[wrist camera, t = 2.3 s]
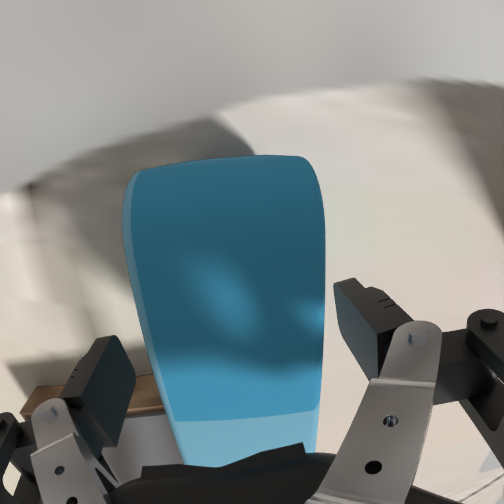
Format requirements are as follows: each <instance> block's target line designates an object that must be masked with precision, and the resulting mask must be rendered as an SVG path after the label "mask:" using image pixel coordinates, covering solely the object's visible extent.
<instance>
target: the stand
mask: <svg viewBox="0 0 504 504" xmlns="http://www.w3.org/2000/svg"><path fill="white" fill-rule="evenodd" d="M64 386H65V385H59V386H46V387H36V388H35V390H34V391H33V393H32V394H31V396H30V397H29V399H28V400H27V402H26V403H25V405H24V406H23V408H22V409H21V411H20V414H21V415H22V417H23V418H24V419H25V421H29V420H31V417H32V414H33V412H34V410H35V409H36V408H37V407H38V406H39V405H40V404H42V403H43V402H45V401H47V400H49V399H53V398H58V397H59V395H60V394H61V392H62V390H63V388H64ZM102 453H103V454H104V455H105V457H106V458H107V460H108V462H109V463H110V465H111V467H112V468H113V470H114V472H115V473H116V475H117V476H118V478H119V480H120V481H121V483H122V484H124V483H127V482H129V481H131V480H134V479H137V478H140V477H141V471H142V466H154V465H169V464H184V462H183V460H182V457H181V455H180V452H179V449H178V447H177V444H176V441H175V438H174V436H173V433H172V430H171V427H170V424H169V421H168V418H167V415H166V412H165V409H164V406H163V403H162V400H161V397H160V394H159V391H158V387H157V384H156V381H155V377H154V374H152V375H146V376H139V377H136V384H135V388H134V391H133V394H132V397H131V400H130V404H129V407H128V410H127V413H126V417H125V420H124V423H123V427H122V430H121V434H120V437H119V441H118V444H117V447H104V448H103V449H102Z"/></svg>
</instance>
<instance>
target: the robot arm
mask: <svg viewBox="0 0 504 504" xmlns="http://www.w3.org/2000/svg"><path fill="white" fill-rule="evenodd" d="M333 289H334V296H335V304H336V311H337V319H338V325H339V329H340V332H341V335H342V337H343V339H344V340H345V342H346V344H347V345H348V347H349V349H350V350H351V352H352V354H353V355H354V357H355V358H356V360H357V362H358V363H359V365H360V367H361V368H362V370H363V372H364V373H365V375H366V377H367V378H368V380H369V385H368V387H367V390H366V392H365V394H364V397H363V399H362V401H361V404H360V406H359V408H358V411H357V413H356V415H355V417H354V420H353V422H352V424H351V426H350V428H349V430H348V432H347V435H346V437H345V439H344V441H343V443H342V445H341V447H340V449H339V451H338V453H337V455H336V454H330V453H316V452H313V453H306V452H305V448H304V444H303V442H300V443H296V444H292V445H288V446H284V447H280V448H275V449H271V450H266V451H261V452H259V453H256V454H254V455H251V456H249V457H246V458H244V459H241V460H238V461H236V462H233V463H230V464H228V465H225V466H222V467H205V466H194V465H185V464H169V465H154V466H142V471H141V477H140V478H137V479H134V480H131V481H129V482H127V483H124V484H122V483H121V481H120V480H119V478H118V476H117V475H116V473H115V472H114V470H113V468H112V467H111V465H110V463H109V462H108V460H107V458H106V457H105V455H104V454H103V453H102V449H103V448H104V447H117V444H118V441H119V437H120V434H121V430H122V427H123V423H124V420H125V417H126V413H127V410H128V407H129V404H130V400H131V397H132V394H133V391H134V388H135V384H136V375H135V371H134V369H133V366H132V364H131V362H130V360H129V358H128V356H127V354H126V352H125V350H124V348H123V346H122V344H121V342H120V340H119V339H118V337H117V336H115V335H112V336H106V337H101V338H97V339H96V340H95V341H94V343H93V345H92V346H91V348H90V350H89V352H88V353H87V354H86V355H85V356H84V357H83V358H82V359H81V360H80V361H79V362H78V364H77V366H76V367H75V369H74V371H73V372H72V374H71V376H70V377H71V378H69V379H68V381H67V383H66V385H65V386H64V388H63V390H62V392H61V394H60V395H59V397H58V398H53V399H49V400H47V401H45V402H43V403H42V404H40V405H39V406H38V407H37V408H36V409H35V410H34V412H33V414H32V417H31V420H29V421H25V422H22V423H19V422H18V421H17V419H16V418H15V417H14V415H13V414H12V413H10V412H4V413H1V414H0V504H463V503H460V502H457V501H454V500H451V499H448V498H445V497H442V496H439V495H437V494H434V493H431V492H429V491H426V490H423V489H421V488H418V487H416V486H413V482H414V478H415V475H416V472H417V468H418V465H419V461H420V458H421V454H422V450H423V446H424V443H425V439H426V434H427V430H428V426H429V421H430V417H431V412H432V407H433V405H438V404H443V403H448V402H453V401H459V403H460V404H461V406H462V407H463V409H464V410H465V411H466V413H467V414H468V416H469V417H470V419H471V420H472V421H473V423H474V424H475V426H476V427H477V429H478V430H479V432H480V433H481V435H482V436H483V438H484V439H485V441H486V442H487V444H488V445H489V447H490V448H491V450H492V451H493V453H494V454H495V456H496V458H497V459H498V461H499V462H500V464H501V465H502V467H503V469H504V384H503V383H504V313H503V312H501V311H498V310H494V309H482V310H478V311H475V312H473V313H472V314H471V315H470V316H469V317H468V319H467V326H466V329H461V330H455V331H450V332H442V331H441V329H440V328H439V327H438V326H437V325H435V324H433V323H431V322H427V321H414V320H413V319H412V318H411V317H410V316H409V315H408V314H407V313H406V312H405V311H404V310H403V309H402V308H401V307H400V306H398V305H396V303H395V302H394V301H393V300H392V299H390V297H389V296H388V295H387V294H386V293H385V292H384V291H382V290H380V289H377V288H374V287H368V288H364V287H363V286H362V285H361V284H360V283H359V282H358V281H357V280H356V279H355V278H350V279H347V280H343V281H340V282H336V283H334V286H333ZM498 378H499V379H500V380H501V381H502V382H503V383H502V382H501V381H500V380H499V379H498ZM9 461H10V462H11V463H12V464H13V465H14V466H15V468H16V469H17V470H18V471H19V472H20V473H21V477H20V479H19V482H18V484H17V487H16V490H15V492H14V495H13V496H12V495H11V494H10V493H9V492H8V491H7V490H6V489H5V487H4V485H3V475H4V473H5V470H6V468H7V466H8V464H9ZM503 498H504V487H503Z"/></svg>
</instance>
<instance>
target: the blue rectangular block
mask: <svg viewBox="0 0 504 504" xmlns="http://www.w3.org/2000/svg"><path fill="white" fill-rule="evenodd" d="M122 230H123V242H124V249H125V255H126V260H127V266H128V271H129V276H130V281H131V286H132V290H133V295H134V300H135V304H136V309H137V313H138V317H139V321H140V325H141V329H142V333H143V337H144V341H145V345H146V349H147V353H148V356H149V360H150V363H151V367H152V370H153V374H154V377H155V381H156V384H157V387H158V391H159V394H160V397H161V400H162V403H163V406H164V409H165V412H166V415H167V418H168V421H169V424H170V427H171V430H172V433H173V436H174V438H175V441H176V444H177V447H178V449H179V452H180V455H181V457H182V460H183V462H184V464H185V465H194V466H205V467H222V466H225V465H228V464H230V463H233V462H236V461H238V460H241V459H244V458H246V457H249V456H251V455H254V454H256V453H259V452H261V451H266V450H271V449H275V448H280V447H284V446H288V445H292V444H296V443H300V442H303V444H304V448H305V452H306V453H313V452H315V448H316V438H317V428H318V417H319V405H320V392H321V377H322V361H323V341H324V314H325V217H324V208H323V201H322V195H321V191H320V187H319V183H318V180H317V176H316V174H315V171H314V169H313V167H312V166H311V164H310V163H309V162H308V161H307V160H306V159H305V158H303V157H300V156H284V155H253V156H239V157H227V158H215V159H205V160H195V161H186V162H181V163H175V164H170V165H165V166H160V167H155V168H150V169H145V170H141V171H139V172H137V173H136V174H135V175H134V176H133V177H132V178H131V180H130V181H129V183H128V186H127V189H126V192H125V197H124V202H123V213H122Z"/></svg>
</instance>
